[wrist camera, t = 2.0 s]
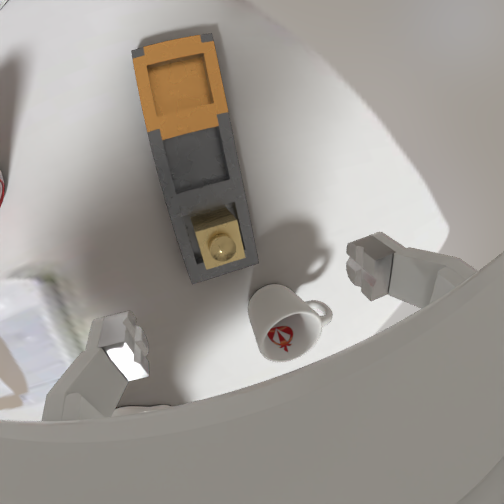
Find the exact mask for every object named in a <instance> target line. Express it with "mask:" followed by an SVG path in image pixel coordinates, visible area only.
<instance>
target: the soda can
mask: <svg viewBox="0 0 504 504" xmlns="http://www.w3.org/2000/svg"><path fill="white" fill-rule="evenodd" d="M3 198H4V179H3V176H2V173H1V171H0V207H1V204H2V202H3Z"/></svg>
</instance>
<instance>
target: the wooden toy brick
mask: <svg viewBox="0 0 504 504" xmlns="http://www.w3.org/2000/svg"><path fill="white" fill-rule="evenodd" d="M190 218H191V221H192V225H193V228H194V232H195V235H196V239H197V242H198V246H199V249H200V252H201V255H202V258H203V261H204V264H205V267H206V270H208V269H211V268H214V267H217V266H220V265H224V264H227V263H230V262H233V261H236V260H240V259H243V258H245V253H244V249H243V244H242V240H241V235H240V231H239V226H238V222H237V219H236V218H235V217H234V216H233V215H232V214H231V212H230V211H229V210H228V209H227V208H226V207H224V208H220V209H217V210H213V211H210V212H207V213H203V214H200V215H196V216H193V217H190Z"/></svg>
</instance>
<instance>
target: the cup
mask: <svg viewBox="0 0 504 504" xmlns="http://www.w3.org/2000/svg"><path fill="white" fill-rule="evenodd" d="M313 309H315V310H318V311H320V312H322V313H323V314H324V315H325V316H319V315H318V314H317V313H316V312H315V311H314V310H313ZM248 315H249V319H250V323H251V326H252V329H253V332H254V335H255V338H256V341H257V344H258V347H259V350H260V352H261V354H262V355H263V356H264V357H265V358H266V359H268V360H270V361H273V362H288V361H291V360H294V359H297V358H299V357H301V356H302V355H304V354H305V353H307V352H308V351H309V350H310V349H311V348H312V347H313V346H314V345H315V344H316V342H317V341H318V339H319V337H320V335H321V332H322V327H324V326H326V325H328V324H329V323H330V322H331V320H332V315H333V314H332V311H331V309H330V308H329V307H328V306H327V305H326V304H324V303H323V302H320V301H316V300H311V301H306V302H304V301H303V300H302V299H301V298H300V297H298V296H297V295H296V294H295V293H294V292H293V291H292V290H290V289H289V288H287V287H286V286H283V285H279V284H271V285H267V286H264V287H262V288H261V289H259V290H258V291H257V292H256V293H255V294H254V295H253V296H252V298H251V299H250V302H249V305H248Z"/></svg>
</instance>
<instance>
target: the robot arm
mask: <svg viewBox="0 0 504 504" xmlns="http://www.w3.org/2000/svg"><path fill="white" fill-rule="evenodd" d="M346 253H347V254H348V256H349V259H348V261H347V263H346V271H347V274H348V277H349V279H350V280H351V282H352V283H353V284H354V285H356V286H359V287H361V292H362V293H363V294H364V295H365V296H366V297H367V298H368V299H369V300H370V301H373V300H375V299H378V298H380V297H382V296H385V295H387V294H388V295H390V296H392V297H395V298H397V299H400V300H402V301H404V302H407V303H409V304H412V305H414V306H417V307H419V308H421V310H419V311H417V312H415V313H414V314H412V315H410V316H409V317H407V318H405V319H403V320H401V321H400V322H398V323H396V324H394V325H392V326H390V327H389V328H387V329H385V330H383V331H381V332H379V333H377V334H375V335H373V336H371V337H369V338H367V339H365V340H363V341H361V342H359V343H357V344H355V345H353V346H351V347H349V348H346V349H344V350H342V351H340V352H338V353H335V354H333V355H331V356H328V357H326V358H324V359H321V360H319V361H317V362H314V363H312V364H309V365H307V366H304V367H302V368H299V369H297V370H294V371H291V372H289V373H286V374H283V375H281V376H278V377H275V378H272V379H269V380H266V381H263V382H261V383H257V384H254V385H251V386H248V387H245V388H242V389H239V390H235V391H232V392H228V393H225V394H221V395H218V396H214V397H210V398H207V399H203V400H199V401H195V402H191V403H186V404H182V405H177V406H173V407H171V406H169V405H158V406H152V407H140V406H128V407H121V408H117V409H115V408H116V406H117V404H118V402H119V400H120V398H121V396H122V394H123V392H124V390H125V388H126V386H127V385H128V383H129V382H128V381H131V380H136V379H140V378H144V377H148V376H149V361H148V360H147V358H146V356H147V354H148V353H149V346H148V341H147V338H146V335H145V333H144V331H143V329H142V328H141V327H139V326H137V325H136V317H135V316H134V314H133V312H132V311H130V310H128V311H124V312H120V313H117V314H113V315H109V316H106V317H101V318H97V319H94V320H93V321H92V325H91V328H90V332H89V337H88V341H87V345H86V350H85V351H83V352H81V353H80V355H79V356H78V357H77V358H76V359H75V360H74V362H73V363H72V364H71V365H70V367H69V368H68V369H67V370H66V371H65V373H64V374H63V375H62V376H61V378H60V379H59V380H58V381H57V383H56V384H55V385H54V386H53V388H52V389H51V390H50V391H49V393H48V394H47V396H46V401H45V406H44V411H43V416H42V421H10V420H0V504H504V251H503V252H502V253H501V254H500V255H498V256H497V257H496V258H495V259H494V260H492V261H491V262H490V263H488V264H487V265H486V266H484V267H483V268H482V269H480V270H479V271H477V270H476V269H474V268H473V267H472V266H470V265H469V264H467V263H466V262H464V261H463V260H462V259H460V258H457V257H453V256H448V255H444V254H439V253H434V252H430V251H425V250H420V249H415V248H410V247H408V248H405V247H404V246H402V245H401V244H399V243H398V242H396V241H395V240H393V239H392V238H390V237H389V236H387V235H386V234H384V233H383V232H377V233H374V234H371V235H369V236H367V237H364V238H361V239H358V240H356V241H353V242H350V243H348V245H347V251H346Z"/></svg>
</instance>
